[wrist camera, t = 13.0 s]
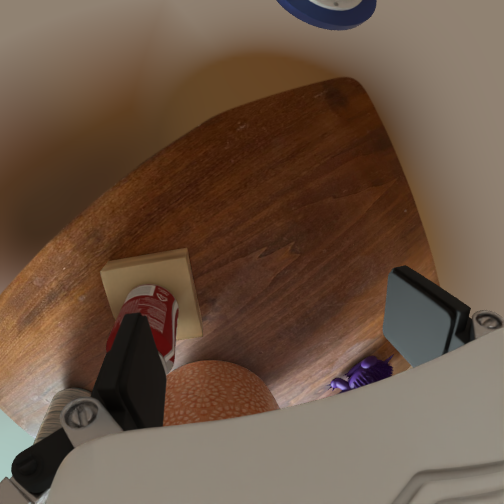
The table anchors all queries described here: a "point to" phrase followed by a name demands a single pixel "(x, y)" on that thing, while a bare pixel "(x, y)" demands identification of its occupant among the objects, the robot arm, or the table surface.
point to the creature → (364, 374)
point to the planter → (214, 393)
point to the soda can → (153, 318)
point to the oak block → (160, 273)
